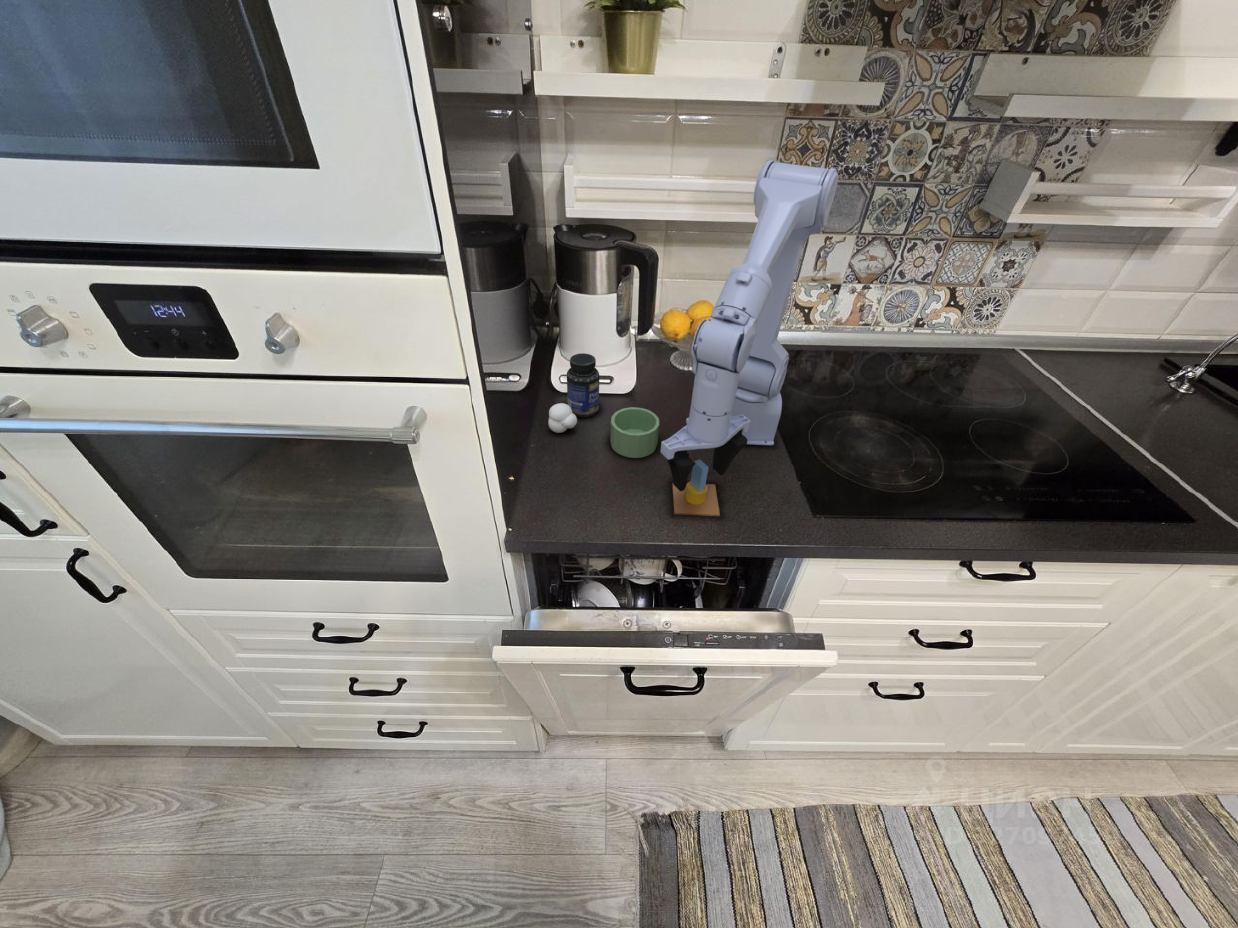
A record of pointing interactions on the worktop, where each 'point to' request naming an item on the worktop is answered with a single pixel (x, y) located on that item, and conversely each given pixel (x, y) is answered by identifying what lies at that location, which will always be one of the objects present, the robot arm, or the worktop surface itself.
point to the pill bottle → (583, 385)
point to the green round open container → (634, 432)
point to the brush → (697, 484)
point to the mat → (703, 509)
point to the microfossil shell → (561, 418)
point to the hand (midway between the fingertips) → (698, 479)
